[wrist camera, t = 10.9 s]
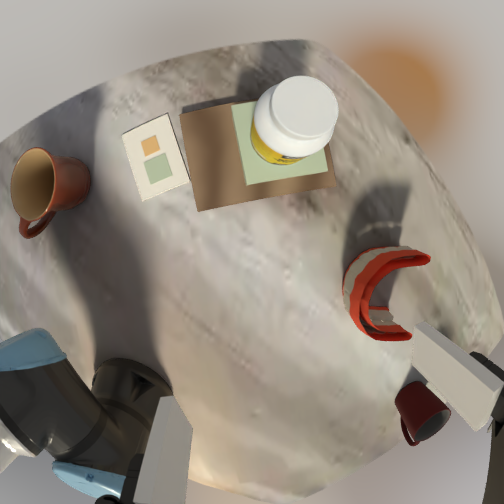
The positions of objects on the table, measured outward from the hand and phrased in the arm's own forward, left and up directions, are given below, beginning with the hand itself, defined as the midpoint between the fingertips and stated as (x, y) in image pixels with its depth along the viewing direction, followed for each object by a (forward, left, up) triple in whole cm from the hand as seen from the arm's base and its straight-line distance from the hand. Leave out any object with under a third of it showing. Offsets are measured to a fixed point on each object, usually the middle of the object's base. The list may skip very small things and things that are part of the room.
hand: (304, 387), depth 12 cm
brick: (+4, +15, -24) cm, 28 cm away
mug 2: (+25, -37, -25) cm, 51 cm away
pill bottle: (+4, +15, -19) cm, 24 cm away
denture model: (+15, -6, -25) cm, 30 cm away
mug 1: (-26, +16, -25) cm, 39 cm away
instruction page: (-11, +17, -25) cm, 32 cm away
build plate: (+2, +15, -25) cm, 29 cm away
